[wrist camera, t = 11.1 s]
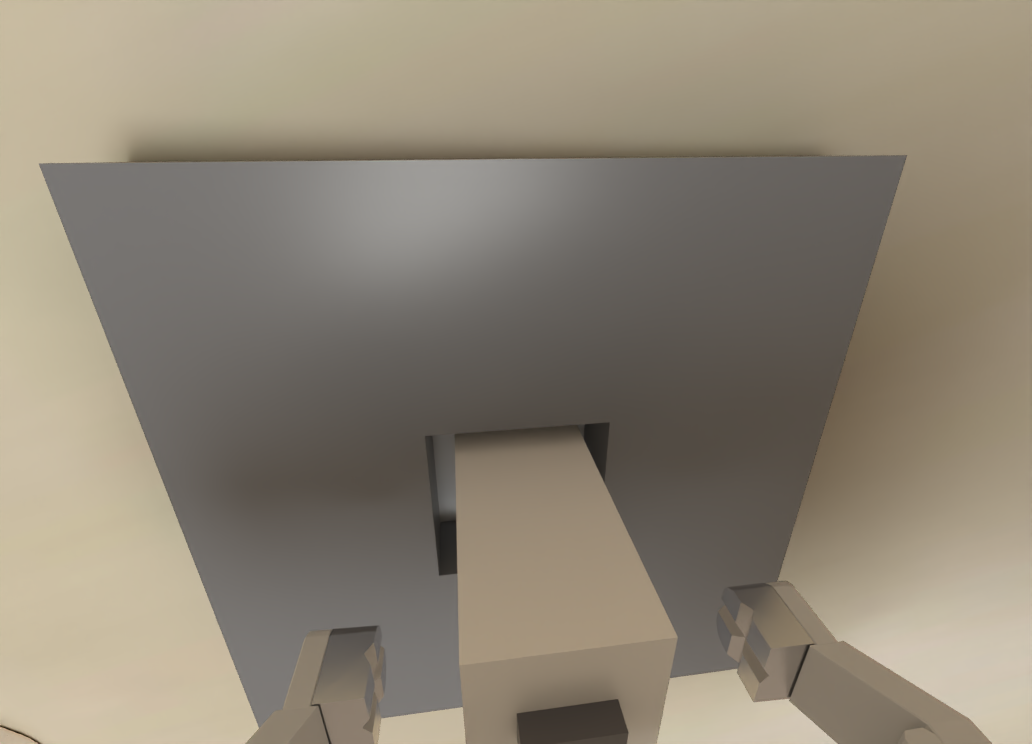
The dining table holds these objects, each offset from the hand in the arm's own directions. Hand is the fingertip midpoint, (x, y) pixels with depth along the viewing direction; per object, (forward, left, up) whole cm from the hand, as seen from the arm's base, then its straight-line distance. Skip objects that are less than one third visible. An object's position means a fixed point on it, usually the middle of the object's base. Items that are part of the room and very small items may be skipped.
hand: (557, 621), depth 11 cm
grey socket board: (0, 0, -7) cm, 7 cm away
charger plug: (0, 0, -7) cm, 7 cm away
